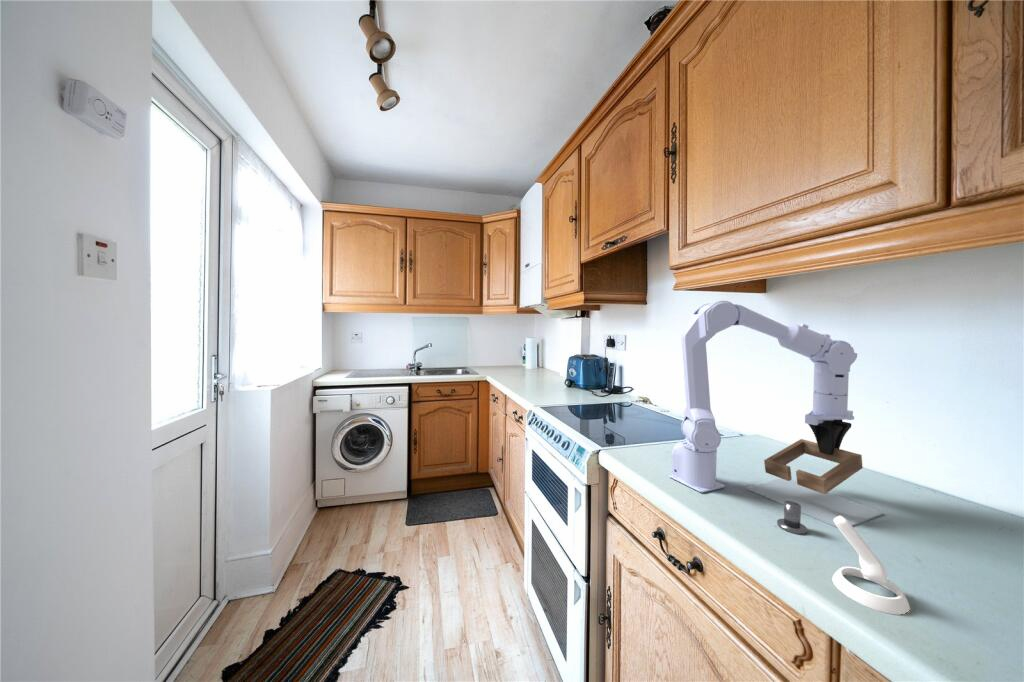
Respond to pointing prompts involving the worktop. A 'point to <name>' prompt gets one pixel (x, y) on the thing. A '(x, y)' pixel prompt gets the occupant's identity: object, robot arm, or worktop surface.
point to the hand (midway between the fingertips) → (828, 453)
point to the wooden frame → (821, 484)
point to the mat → (815, 502)
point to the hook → (867, 575)
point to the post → (792, 519)
